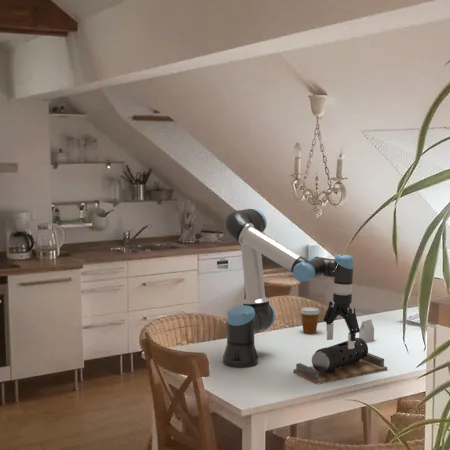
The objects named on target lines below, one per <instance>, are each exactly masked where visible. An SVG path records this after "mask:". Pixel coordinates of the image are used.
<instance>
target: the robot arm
mask: <svg viewBox="0 0 450 450" xmlns="http://www.w3.org/2000/svg"><path fill="white" fill-rule="evenodd" d="M223 228H224V230H225V232H226V233H227V235H228V236H229V237H230V238H232V239H233V240H235V241H236V242H238V243H239V244H240V248H241V249H240V250H241V259H242V270H243V282H244V290H245V291H244V292H245V299H244V300H243V302H242V305H238V306H237V305H236V306H233V307H231V308H229V310H228V311H227V316H226V346H225V349H224V352H223V355H222V363H223V364H224V365H225V366H229V367H231V368H232V367H234V368H249V367H253V366H257V364H259V356H258V352H257V349H256V346H255V345H256V344H255V334H258V333H260V332H264V331H266V330H267V329H270V328H271V326H273V324H274V322H275V319H276V312H275V309H274V307H273V306H272V305H271V304H270V299H269V298H268V297H266V291H265V280H264V269H263V267H264V266H263V257H262V255H263V256H265V257H266V258H267V259H269V260H271V261H273V262H274V263H276V264H278V265H280V266H281V267H283V268H284V269H286V270H288V271H289V272H291V273H292V274H293V276H294V277H293V278H295V280H297V281H298V282H302V283H304V282H310V281H312V280H314V279H317V278H319V277H327V278H333V290H332V291H333V293H332V294H333V295H332V300H331V301H329V303H328V307H327V309H326V312H325V314H324V317H323V322H325V324H326V340H327V341H331V340H334V327H335V326H334V324H335V323H334V321H335V320H336V319H337V317H338V316H339V317H341V318H343V319H344V322H345V324H346V327H347V328H348V331H349V332H348V336H347V338H348V339H347V341H348V349H353V348H354V347H355V346H354V342H356V341H355V338H356V334H357V333H359V332H360V330H359V329H360V327H359V323H358V319H357V315H356V308H355V307H350V305H351V303H352V299H353V294H352V293H353V283H354V282H353V277H354V258H353V256H351V255H350V254H336V255H335V256H334V258H327V257H321V256H309V257H308V259H307V258H305V257H303V256H302V255H299V254H298V253H297V252H296V251H294V250H292V249H290V248H289V247H286V246H285V245H283V244H282V243H280V242H278V241H277V240H275V239H274V238H272V237H270V236H269V235H267V234H265V233H264V232H265V230H266V228H267V218H266V216H265V214H264V213H263V212H262V211H260V210H259V209H256V208H247V209H246V208H245V209H240V210H233V211H231V212H229V214H227V215H226V216H225V219H224V223H223ZM341 255H343V256H341ZM338 263H339V264H338ZM337 264H338V266H337ZM336 266H337V268H336ZM335 268H336V269H335ZM334 270H335V271H334ZM333 271H334V272H333Z"/></svg>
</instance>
